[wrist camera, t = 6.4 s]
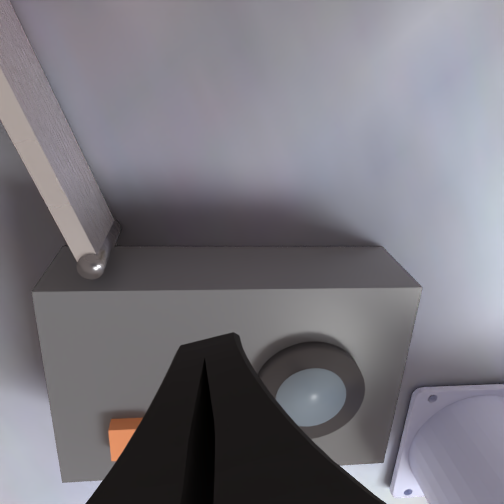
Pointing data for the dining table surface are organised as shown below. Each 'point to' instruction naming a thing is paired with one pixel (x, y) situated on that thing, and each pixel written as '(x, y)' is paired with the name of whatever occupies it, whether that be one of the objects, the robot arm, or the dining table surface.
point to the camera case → (219, 323)
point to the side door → (52, 151)
